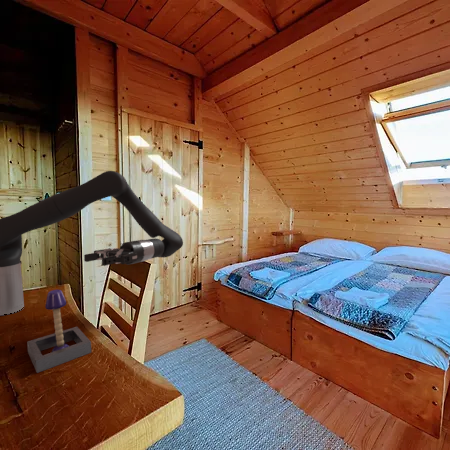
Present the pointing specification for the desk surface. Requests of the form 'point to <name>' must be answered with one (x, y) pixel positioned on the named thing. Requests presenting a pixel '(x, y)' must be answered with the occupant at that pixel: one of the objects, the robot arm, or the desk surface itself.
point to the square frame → (60, 355)
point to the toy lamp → (57, 315)
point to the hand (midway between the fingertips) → (93, 260)
